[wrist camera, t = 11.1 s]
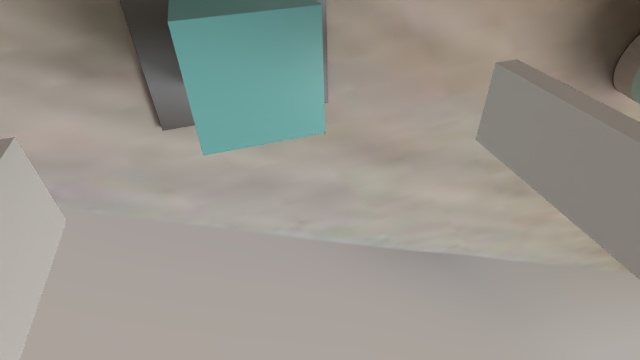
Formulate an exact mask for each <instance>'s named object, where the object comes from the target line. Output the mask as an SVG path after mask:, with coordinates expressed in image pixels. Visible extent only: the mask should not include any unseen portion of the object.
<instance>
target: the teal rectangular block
mask: <svg viewBox="0 0 640 360" xmlns="http://www.w3.org/2000/svg"><path fill="white" fill-rule="evenodd" d="M168 25H169V29H170V33H171V37H172V40H173V44H174V48H175V52H176V55H177V59H178V63H179V67H180V70H181V74H182V78H183V82H184V85H185V89H186V93H187V97H188V100H189V104H190V108H191V112H192V115H193V119H194V123H195V127H196V130H197V134H198V138H199V142H200V145H201V149H202V153H203V155H209V154H214V153H219V152H225V151H230V150H236V149H241V148H246V147H252V146H257V145H262V144H268V143H273V142H279V141H284V140H289V139H295V138H300V137H306V136H311V135H316V134H322V133H325V106H324V70H323V33H322V4H320V3H319V2H318V1H316V0H169V4H168Z"/></svg>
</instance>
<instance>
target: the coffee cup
mask: <svg viewBox="0 0 640 360" xmlns="http://www.w3.org/2000/svg"><path fill="white" fill-rule="evenodd" d="M613 81H614V86H615V88H616V89H617V90H618V91H620V92H621V93H623V94H624V95H626V96H628V97H629V98H631V99H632V100H634V101H636V102H637V103H639V104H640V35H638V36H637V37H636V38H635V39H634V40H633V41H632V42H631V44H630V45H629V46H628V47H627V49H626V50H625V51H624V53H623V54H622V56H621V58H620V59H619V61H618V63H617V66H616V68H615V72H614V77H613Z"/></svg>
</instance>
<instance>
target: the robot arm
mask: <svg viewBox="0 0 640 360" xmlns="http://www.w3.org/2000/svg"><path fill="white" fill-rule="evenodd" d="M476 140H477V141H478V142H479V143H480V144H482V145H483V146H484V147H485V148H486V149H487V150H489V151H490V152H491V153H492V154H493V155H494V156H496V157H497V158H498V159H499V160H500V161H501V162H503V163H504V164H505V165H506V166H507V167H508V168H510V169H511V170H512V171H513V172H514V173H515V174H517V175H518V176H519V177H520V178H521V179H523V180H524V181H525V182H526V183H527V184H528V185H530V186H531V187H532V188H533V189H534V190H535V191H537V192H538V193H539V194H540V195H541V196H542V197H544V198H545V199H546V200H547V201H548V202H549V203H551V204H552V205H553V206H554V207H555V208H556V209H558V210H559V211H560V212H561V213H562V214H563V215H565V216H566V217H567V218H568V219H569V220H570V221H572V222H573V223H574V224H575V225H576V226H578V227H579V228H580V229H581V230H582V231H583V232H585V233H586V234H587V235H588V236H589V237H590V238H592V239H593V240H594V241H595V242H596V243H597V244H599V245H600V246H601V247H602V248H603V249H604V250H606V251H607V252H608V253H609V254H610V255H611V256H613V257H614V258H615V259H616V260H617V261H618V262H620V263H621V264H622V265H623V266H624V267H626V268H627V269H628V270H629V271H630V272H631V273H633V274H634V275H635V276H636V277H637V278H639V279H640V122H638V121H636V120H634V119H632V118H630V117H628V116H627V115H625V114H623V113H621V112H619V111H617V110H615V109H613V108H611V107H609V106H607V105H605V104H603V103H601V102H599V101H597V100H595V99H593V98H591V97H589V96H587V95H585V94H584V93H582V92H580V91H578V90H576V89H574V88H572V87H570V86H568V85H566V84H564V83H562V82H560V81H558V80H556V79H554V78H552V77H550V76H548V75H546V74H544V73H543V72H541V71H539V70H537V69H535V68H533V67H531V66H529V65H527V64H525V63H523V62H521V61H519V60H511V61H504V62H498V63H496V64H495V68H494V72H493V75H492V79H491V83H490V87H489V91H488V94H487V98H486V102H485V106H484V110H483V113H482V117H481V121H480V125H479V129H478V132H477V136H476ZM65 224H66V220H65V218H64V216H63V215H62V213H61V211H60V210H59V208H58V207H57V205H56V203H55V202H54V200H53V198H52V197H51V195H50V194H49V192H48V190H47V189H46V187H45V186H44V184H43V182H42V181H41V179H40V177H39V176H38V174H37V173H36V171H35V169H34V168H33V166H32V165H31V163H30V161H29V160H28V158H27V156H26V155H25V153H24V152H23V150H22V148H21V147H20V145H19V144H18V142H17V140H16V139H15V137H14V138H7V139H1V140H0V360H20V357H21V354H22V351H23V348H24V345H25V342H26V339H27V336H28V333H29V330H30V327H31V325H32V322H33V319H34V316H35V313H36V310H37V307H38V304H39V301H40V298H41V295H42V292H43V289H44V286H45V283H46V280H47V277H48V274H49V271H50V269H51V266H52V263H53V260H54V257H55V254H56V250H57V248H58V245H59V242H60V239H61V236H62V233H63V230H64V227H65Z"/></svg>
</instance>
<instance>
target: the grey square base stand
mask: <svg viewBox="0 0 640 360" xmlns="http://www.w3.org/2000/svg"><path fill="white" fill-rule="evenodd" d="M316 1H318V2H319V3H320V4H322V33H323V70H324V103H328V76H327V28H326V0H316ZM120 3H121V6H122V9H123V12H124V15H125V18H126V21H127V24H128V27H129V30H130V33H131V36H132V39H133V42H134V45H135V48H136V51H137V54H138V57H139V60H140V63H141V66H142V69H143V72H144V76H145V79H146V82H147V85H148V88H149V91H150V94H151V97H152V100H153V103H154V106H155V109H156V112H157V115H158V118H159V121H160V124H161V127H162V130H169V129H175V128H181V127H187V126H193V125H195V123H194V119H193V115H192V112H191V108H190V104H189V100H188V97H187V93H186V89H185V85H184V82H183V78H182V74H181V70H180V67H179V63H178V59H177V55H176V52H175V48H174V44H173V40H172V37H171V33H170V29H169V25H168V4H169V0H120Z"/></svg>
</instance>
